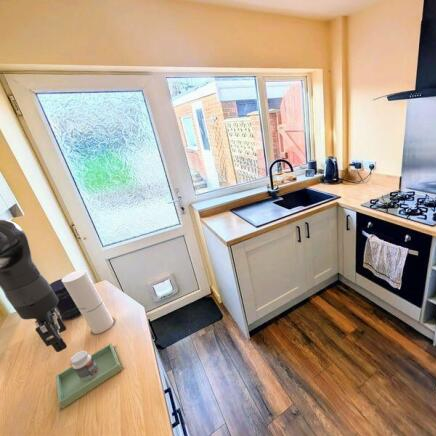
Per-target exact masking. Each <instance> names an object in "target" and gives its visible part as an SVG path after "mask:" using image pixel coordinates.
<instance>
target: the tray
mask: <svg viewBox="0 0 436 436" xmlns="http://www.w3.org/2000/svg"><path fill="white" fill-rule="evenodd" d="M90 355H91V357H92V358H93V360H94V362H95V363H96V365H97V366H98V368H99V370H98V372H97V374H96V375H95V376H94V377H93V378H91V379H89V380H87V381H82V380H81V379H80V377H79V376H78V374H77V373H76V372H75V370H74V369H73V365H70V366H69V367H68V368H66V369H64V370H63V371H61V372H59V373H58V374H56V375H55V382H56V383H55V384H56V392H57V393H56V394H57V402H58V405H59V406H60V408H62V409H64V408H66V407H67V406H69V405H71V404H72V403H73V402H75V401H77V400H79V398H81V397H83V396H84V395H86V394H88V393H89V392H90V391H92V390H93V389H95V388H97V387H98V386H100V385H101V384H103V383H104V382H106V381H107V380H109V379H110V378H111V377H113V376H115V375H116V374H118V373H119V372H121V371H122V370H123V368H122V366H121V363H120V360H119V357H118V355H117V352H116V350H115V348H114V346H113V344H112V343H109V344H107V345H105V346H104V347H102V348H100V349H99V350H97V351H94V353H92V354H90Z"/></svg>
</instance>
